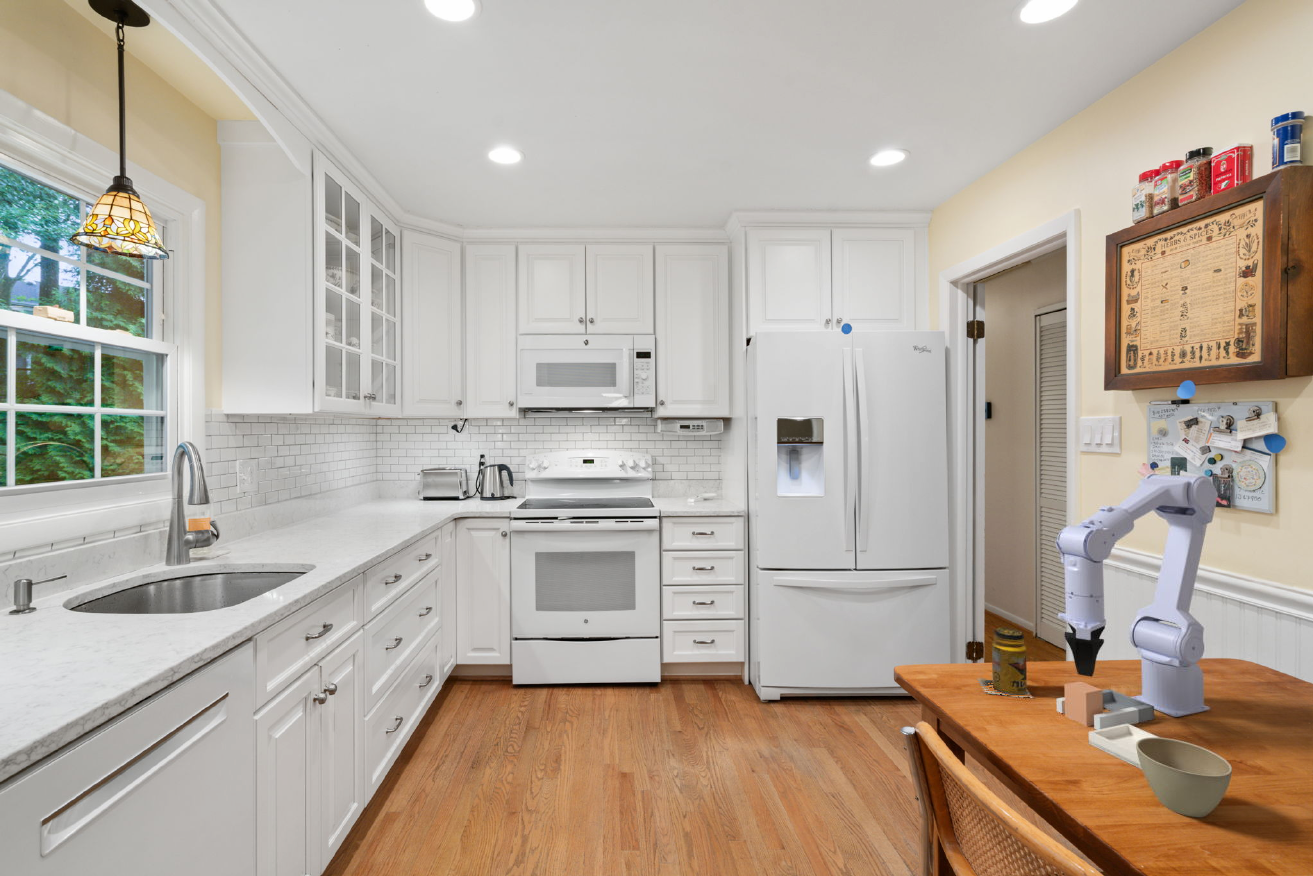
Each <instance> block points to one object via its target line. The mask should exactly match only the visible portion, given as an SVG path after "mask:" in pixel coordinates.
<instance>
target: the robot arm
mask: <svg viewBox="0 0 1313 876" xmlns="http://www.w3.org/2000/svg"><path fill="white" fill-rule="evenodd" d="M1218 495H1219V492H1218V491H1217V489H1216V487H1215V485H1214V483H1213V482H1212V480H1211V479H1210V478H1209V477H1208V476H1205V475H1198V476H1195V475H1194V476H1192V475H1173V474H1170V475H1169V474H1159V473H1149V474H1146V476H1145V477H1144V478H1141V479H1139V481H1138V486H1137V489H1136V490H1135V491H1134V492H1132V493H1131V494H1130V495H1129V496H1128V497H1126V498H1125V499H1124V500H1123V501H1122V502H1121V503H1119V504H1118V505H1102V506H1100V507H1098V508H1099V510H1098V511H1096V512H1095V513H1093V514H1092V515H1091V516H1089V517H1088V518H1085V519H1083V520H1082V521H1081V522H1080V523H1079V524H1077V525H1068V526H1066V527H1064V528H1062V529H1061V530H1060V532H1058V535H1057V538H1056V540H1055V543H1054V544H1055V547H1056V550H1057V551H1058V553H1059V555H1060V562H1061V564H1062V565H1063V566H1064V593H1065V594H1064V595H1065V597H1064V599H1065V603H1064V604H1065V613H1064V612H1059V613H1058V614H1057V618H1058V619H1059V620H1064V621H1065V622H1067V625H1068V627H1069V628H1070V629H1071V632H1070V631H1065V632H1064V635H1063V636H1064V639H1065V641H1066V642H1067V644H1068V646H1069V648H1070V650H1071V653H1072V656H1073V660H1074V666H1075V670H1076V673H1077V675H1079V676H1085V677H1091V678H1092V677H1093V676H1094V672H1095V667H1096V663H1097V658H1098V654H1099V652H1100V650H1101V649H1102V647H1103V645H1104V643H1105V639H1103V638H1101V636H1102V634H1103V632H1104V631H1105V628H1106V625H1107V620H1106V618H1105V596H1104V595H1105V594H1104V593H1105V592H1104V591H1105V589H1104V585H1105V584H1104V561H1106V560H1108V559H1109V557H1110V555H1111V553H1112V549H1113V548H1114V547H1115V545H1116V543H1117V542H1119V541H1120V540H1121V539H1122V538H1124V537H1126V536H1127V535H1128V534H1130V533H1131V532H1132V531H1133V530H1134V528H1135V521H1136V520H1139V519H1140V518H1142V517H1144V516H1145V515H1147V514H1150V513H1151V512H1154V513H1155V514H1156V515H1157V516H1158V517H1160V518H1162V519H1164V520H1166V522H1167V524H1168V525H1169V528H1168V532H1167V538H1166V542H1165V547H1164V550H1163V554H1162V555H1163V556H1162V561H1161V565H1160V569H1159V575H1158V577H1157V578H1158V579H1157V584H1156V589H1155V592H1154V593H1155V594H1154V598H1153V602H1152V603H1151V604H1149V605H1146V606H1144V607H1141V608H1139V609H1138V610H1137V613H1136V617H1135V618H1134V620H1133V622H1132V623H1131V625H1130V627H1129V629H1128V638H1129V641H1130V644H1132V646H1133V647H1134V648H1135V649H1136V652H1137V653H1136V654H1138V655H1139V656H1141V657H1140V658H1141V659H1140V660H1141V661H1140V662H1141V695H1139V694H1138V695H1136V696H1131V697H1132V698H1134V699H1137V700H1139V701H1142V702H1145V703H1147V704H1150V705H1152V706H1154V710H1156V711H1159V712H1161V713H1163V714H1166V715H1169V716H1170V717H1171V716H1172V717H1176V718H1178V717H1183V716H1186V715H1191V714H1196V713H1201V712H1206V711H1210V710H1211V709H1210V706H1207V705H1205V698H1204V697H1205V693H1204V692H1205V689H1204V686H1205V684H1204V673H1203V670H1202V669H1201V667H1200V665H1199V664H1198V662H1199V661H1200V660H1201V659H1202V657H1203V656H1204V652H1205V643H1204V631H1205V627H1204V626H1203V625H1202V623H1200V622H1199V621H1198V620H1197V619H1196V618H1195V617H1194V616H1193V615H1192V614H1191V613H1190V608H1191V605H1192V599H1193V595H1194V594H1193V593H1194V589H1195V585H1196V580H1197V579H1196V578H1197V575H1198V570H1199V566H1200V560H1201V557H1202V552H1203V548H1204V547H1203V546H1204V542H1205V536H1206V531H1207V527H1208V524H1211V523H1212V522H1213V519H1214V515H1215V511H1216V505H1217V500H1218ZM1163 622H1167V623H1170V624H1167V623H1163ZM1171 624H1172V625H1171ZM1173 624H1174V625H1173ZM1175 625H1177V626H1175Z"/></svg>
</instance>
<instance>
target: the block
mask: <svg viewBox="0 0 1313 876" xmlns="http://www.w3.org/2000/svg"><path fill="white" fill-rule="evenodd" d="M1063 687H1064V697H1065V713H1064V718H1066V717H1068V718H1067V719H1069V720H1071V721H1073V720H1075V721H1077V722H1079V723H1081V724H1080V725H1082V724H1083V725H1082V726H1084V725H1085V726H1084V727H1086V726H1088V727H1092V726H1094V715H1096V714H1101V713H1104V708H1103V698H1102V690H1103V689H1101V688H1099V687H1096V686H1093V685H1091V684H1088V683H1086V682H1083V681H1082V680H1081V681H1075V682H1069V683H1065V684H1064V686H1063ZM1075 721H1074V722H1075ZM1077 722H1076V723H1077ZM1079 723H1078V724H1079Z"/></svg>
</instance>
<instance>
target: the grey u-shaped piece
mask: <svg viewBox="0 0 1313 876" xmlns="http://www.w3.org/2000/svg"><path fill="white" fill-rule="evenodd" d="M1101 690H1102V698H1103V709H1104V708H1106V709H1105V710H1107V711H1109V710H1110V711H1109V712H1111V711H1116V710H1121V709H1125V708H1130V707H1134V708H1136V709H1138V715H1139V722H1140V723H1145V722H1149V721H1153V719H1154V720H1155V709H1154V706H1152V705H1150V704H1147V703H1145V702H1142V701H1139V700H1137V699H1134V698H1132V697H1133V696H1128V695H1127V694H1123V693H1121V692H1118V691H1116V690H1113V689H1110V688H1107V689H1101ZM1148 720H1149V721H1148ZM1144 721H1145V722H1144Z"/></svg>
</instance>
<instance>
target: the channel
mask: <svg viewBox="0 0 1313 876" xmlns="http://www.w3.org/2000/svg"><path fill="white" fill-rule="evenodd" d="M1057 711H1058V712H1057ZM1056 712H1057V713H1059V712H1060V713H1059V714H1061V713H1063V714H1065V696H1064V697H1059V698H1058V697H1057V698H1056ZM1123 724H1129V725H1135V724H1139V715H1138V709H1136V708H1134V707H1130V708H1125V709H1121V710H1116V711H1107V712H1103V713H1101V714H1096V715H1094V725H1093V729H1094V730H1099V729H1104V728H1109V727H1113V726H1118V725H1123Z"/></svg>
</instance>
